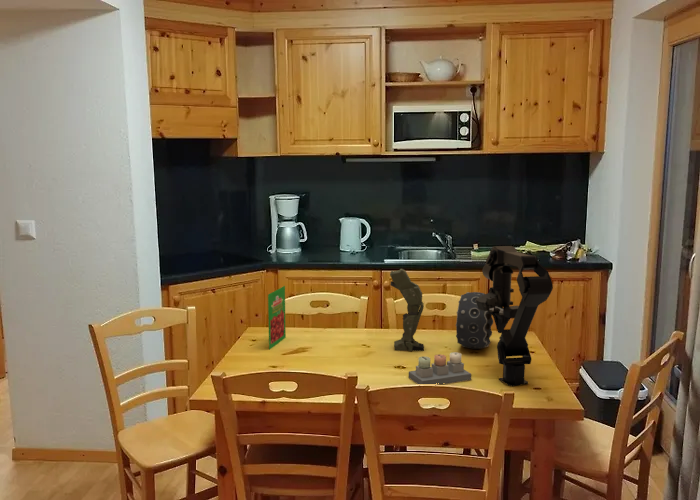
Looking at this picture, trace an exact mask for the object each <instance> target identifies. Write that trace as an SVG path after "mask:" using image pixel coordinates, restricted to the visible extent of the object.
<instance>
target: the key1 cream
mask: <svg viewBox="0 0 700 500" xmlns="http://www.w3.org/2000/svg"><path fill="white" fill-rule="evenodd" d="M462 355H463V354H462V353H461V352H457V351H456V352H455V351H454V352H450V353H449V361H450V362H451V363H453V364H458V363H461V362H462Z"/></svg>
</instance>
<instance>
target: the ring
mask: <svg viewBox="0 0 700 500" xmlns="http://www.w3.org/2000/svg"><path fill="white" fill-rule="evenodd" d="M484 294H485V293H484V292H480V291H479V292H478V291H473V292H469V291H468V292H466V293H464V294H461V295H460V298H459V300H458V305H457V311H456V322H455V328H456V334H455V337H456V340H457V344H459V345H461V346H462V347H463V348H468V349H473V350H480V349H485V348H487V347H490V344H491V339H490V338H491V337H492V335H493V331H492V328H491V327H492V326H493V324H494V318H493V315H492V314H490V313H489V312H488V311H483V310H481V309H478V307H477V303H476V299H477V298H479V297H481V296H482V295H484Z"/></svg>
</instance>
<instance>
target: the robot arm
mask: <svg viewBox="0 0 700 500" xmlns="http://www.w3.org/2000/svg"><path fill="white" fill-rule="evenodd" d="M511 266H512V267H515V268H517V269H518V274H517V276H516V283H517V285H518V290H519V293H520V296H521V299H520V303H519V305H514V301H512V300H511V296H512V295H511V294H512V293H514V292H515V291H514V290H515V289H514V288H512V274H514V271H513V269H512V268H511ZM524 270H532V271H534V273H535V274H536V276H533V275H531V276H524V274H523V271H524ZM482 275H483V276H484V277H485V278H486V279H487V280H489V281H491V282H492V287H489V288H488V292H487V293H484V295H482V296H481V297H479V298H477V299H476V303H477V307H478V309H481V310H483V311H488V312H489V313H490V314H492V319H493V322H494V323H495V327H496V331H497V333H498V334H500V336H499V340H498V342H497V345H496V349H497V350H496V351H497V359H498V364H499V365H503V367H502V368H503V369H502V371H503V372H502V377H498V380H499V381H500V382H502V383H504V384H506V385H508V386H509V387H517V386H518V387H519V386H523V385H529V381H528V380H526V379H525V376H526V375H525V373H526V365H531V363H532V356H531V351H530V350H529V344H528V341H527V339H526V337H527V334H528V332H529V329H530V327H531V324H532V321H533V320H534V317H535V315H536V312H537V309H538V307H539V306H540V305H542V303H544V302H546V301H547V300H548V298H549V297H550V295H551V293H552V292H553V289H554V288H553V287H554V285H553V281H552V278H551V276H550V274H549V271H548V270H547V269H546V268H545V267H544V266H543V265H542V264H540V261H539V258H538V257H537V256H536V255H531V254H526V253H523V252H520V251H519V252H518V251H517V248H515V247H514V246H513V245H507V246H506V245H505V246H504V245H502V246H501V245H499V246H497V245H496V246H492V249H490V251H489V254H488V256H487V258H486V259H485V264H484V266H483V267H482ZM510 319H513V320H512V323H511V326H510V329H505V328H506V327H507V325H508V323H509V322H510Z"/></svg>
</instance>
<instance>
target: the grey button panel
mask: <svg viewBox="0 0 700 500" xmlns="http://www.w3.org/2000/svg"><path fill="white" fill-rule="evenodd" d="M408 378H409V379H410V380H411V381H413V382H414V383H415V384H417V385H418V384H436V383H437V384H438V383H439V384H442V385H447V384H452V383H453V384H454V383H460V382H465V381H466V382H467V381H472V373H471V372H470V371H467V370H466V369H465V363H463V362H462V361H461V363H458V364H453V363H451V362H450V360H446V365H443V366H438V365H435V364H434V362H433V363H431V366H430V367H429V368H424V369H423V368H421V367H419V366H418V365H415V370H410V371H408ZM443 383H445V384H443Z"/></svg>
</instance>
